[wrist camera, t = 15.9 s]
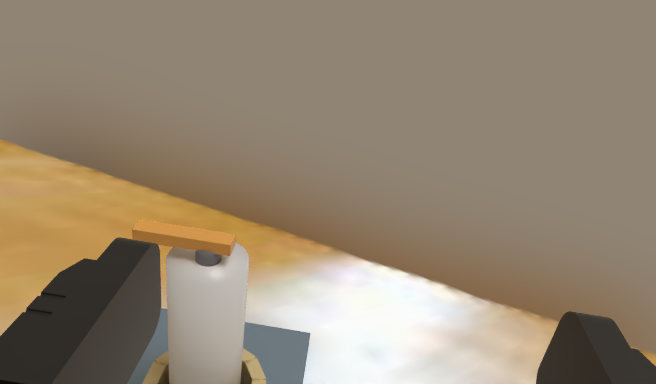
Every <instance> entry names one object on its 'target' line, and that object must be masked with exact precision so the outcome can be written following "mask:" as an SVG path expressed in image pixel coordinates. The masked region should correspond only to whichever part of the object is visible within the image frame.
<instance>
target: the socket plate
mask: <svg viewBox="0 0 656 384" xmlns="http://www.w3.org/2000/svg"><path fill="white" fill-rule="evenodd" d="M309 338H310V333H306V332H300V331H294V330H288V329H282V328H276V327H270V326H264V325H258V324H252V323H246V322H245V326H244V340H243V355H242V369H241V383H240V384H303V378H304V371H305V365H306V358H307V352H308V345H309ZM127 384H169V357H168V313H167V309H162V308H161V311H160V317H159V321H158V325H157V328H156V331H155V333H154V335H153V337H152V339H151V341H150V343H149V344H148V346H147V348H146V350H145V352H144V354H143V355H142V357H141V359H140V361H139V363H138V364H137V366H136V368H135V370H134V372H133V374H132V375H131V377H130V379H129V381H128V383H127Z"/></svg>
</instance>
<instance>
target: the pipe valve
mask: <svg viewBox="0 0 656 384" xmlns="http://www.w3.org/2000/svg"><path fill="white" fill-rule="evenodd" d="M132 237H133V240H138V241H144V242H150V243H156V244H157V245H164V246H170V247H173V248H172V249H171V250H170V252H169V253H168V255H167V259H166V270H167V313H168V357H169V384H240V383H241V369H242V355H243V340H244V326H245V311H246V297H247V283H248V268H249V256H248V253H247V252H246V250H245V249H244V248H243V247H242V246H241V245H239V244H238V243H236V242H235V241H236V235H235V234H229V233H223V232H217V231H210V230H204V229H198V228H192V227H186V226H179V225H173V224H167V223H161V222H154V221H148V220H142V219H140V220H139V222H138V223H137V224H136V225H135V226H134V228H133V229H132Z"/></svg>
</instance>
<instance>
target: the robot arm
mask: <svg viewBox="0 0 656 384" xmlns="http://www.w3.org/2000/svg"><path fill="white" fill-rule="evenodd" d="M160 311H161V277H160V250H159V247H158V245H157V244H156V243H150V242H144V241H138V240H132V239H125V238H116V239H115V240H114V241H113V242H112V243H111V244H110V245H109V246H108V248H107V249H106V250H105V251H104V252H103V253H102V255H101V256H100V257H99V258H98V259H97V260H91V259H83V260H81V261H79V262H78V263H76V264H74V265H72V266H70V267H69V268H67V269H65V270H63V271H62V272H60V273H59V274H58V275H57V276H56V277H55V278H54V279H53V280H52V281H51V282H50V283H49V284H48V285H47V287H46V288H45V289H44V290H43V291H42V292H41V296H37V297H36V298H35V300H34V301H33V302H32V303H31V304H30V305H29V306H28V307H27V309H26V312H25V313H24V312H23V313H22V314H21V315H20V316H19V317H18V318H17V319H16V320H15V321H14V322H13V323H12V324H11V325H10V327H9V328H8V329H7V330H6V331H5V332H4V333H3V334H2V335H1V336H0V384H127V383H128V381H129V379H130V377H131V375H132V374H133V372H134V370H135V368H136V366H137V364H138V363H139V361H140V359H141V357H142V355H143V354H144V352H145V350H146V348H147V346H148V344H149V343H150V341H151V339H152V337H153V335H154V333H155V331H156V328H157V325H158V321H159V317H160ZM536 384H656V366H655V365H653V364H652V363H651V362H650V361H649V360H648V359H647V358H646V357H645V356H644V355H643V354H642V353H641V352H640V351H639V350H637V349H631V348H630V346H629V345H628V343H627V342H626V340H625V338H624V336H623V335H622V333H621V331H620V330H619V328H618V326H617V325H616V323H615V322H614V321H613V320H612V319H610V318H607V317H601V316H595V315H589V314H583V313H576V312H567V313H565V314H564V315H563V317H562V318H561V320H560V322H559V324H558V326H557V329H556V331H555V333H554V335H553V337H552V340H551V342H550V344H549V346H548V349H547V351H546V353H545V355H544V357H543V360H542V362H541V364H540V366H539V369H538V373H537V380H536Z"/></svg>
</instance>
